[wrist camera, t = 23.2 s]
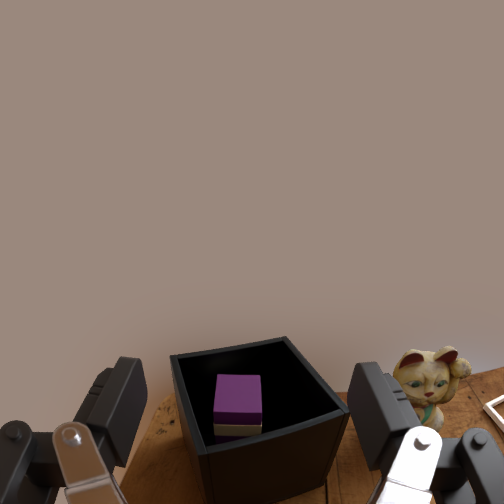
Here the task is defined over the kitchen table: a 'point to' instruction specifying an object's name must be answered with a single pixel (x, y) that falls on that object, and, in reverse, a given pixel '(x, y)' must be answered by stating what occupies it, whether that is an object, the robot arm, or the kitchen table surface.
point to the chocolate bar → (237, 407)
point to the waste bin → (273, 423)
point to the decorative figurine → (430, 381)
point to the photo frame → (492, 413)
